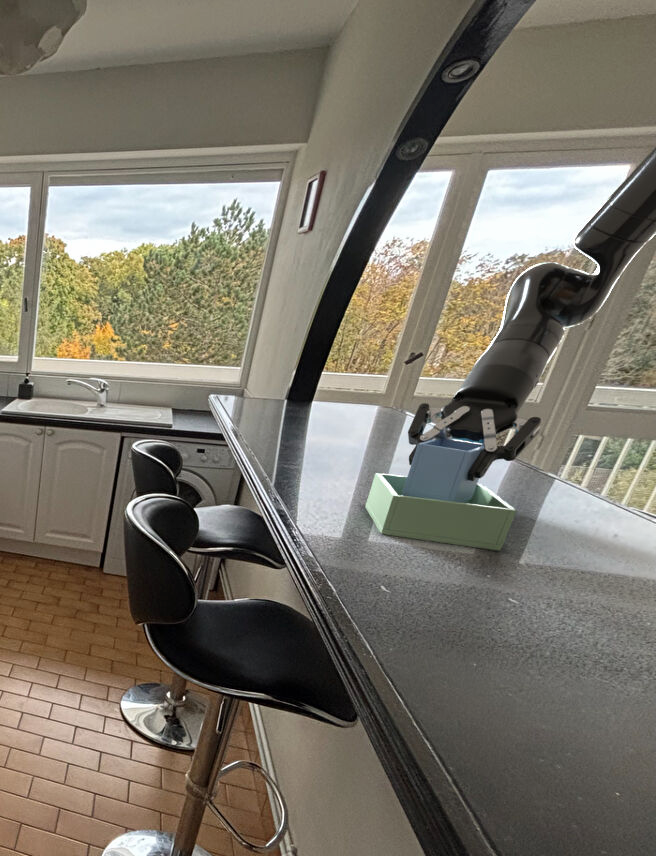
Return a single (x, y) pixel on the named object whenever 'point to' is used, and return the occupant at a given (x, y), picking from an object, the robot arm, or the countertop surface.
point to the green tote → (439, 515)
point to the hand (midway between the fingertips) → (441, 471)
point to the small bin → (442, 470)
